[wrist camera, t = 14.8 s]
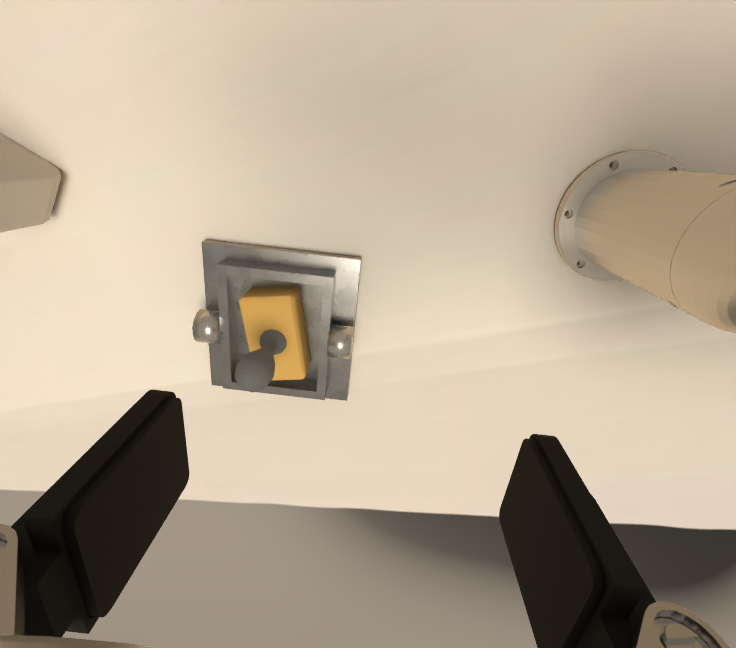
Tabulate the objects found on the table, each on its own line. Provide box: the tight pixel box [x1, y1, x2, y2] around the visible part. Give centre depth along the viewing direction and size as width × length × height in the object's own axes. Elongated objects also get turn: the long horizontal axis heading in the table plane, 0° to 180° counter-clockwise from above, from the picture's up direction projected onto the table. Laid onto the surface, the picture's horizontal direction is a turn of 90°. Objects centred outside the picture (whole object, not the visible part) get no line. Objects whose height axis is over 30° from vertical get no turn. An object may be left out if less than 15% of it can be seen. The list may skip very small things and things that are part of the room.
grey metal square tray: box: [193, 240, 361, 401], centre depth 44 cm, size 17×18×5 cm
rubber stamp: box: [235, 285, 311, 392], centre depth 39 cm, size 10×6×12 cm, turn 4°
